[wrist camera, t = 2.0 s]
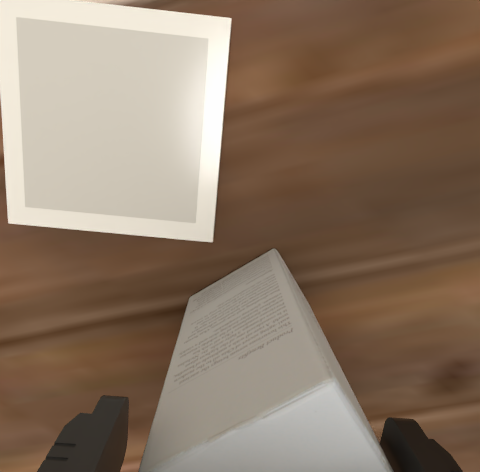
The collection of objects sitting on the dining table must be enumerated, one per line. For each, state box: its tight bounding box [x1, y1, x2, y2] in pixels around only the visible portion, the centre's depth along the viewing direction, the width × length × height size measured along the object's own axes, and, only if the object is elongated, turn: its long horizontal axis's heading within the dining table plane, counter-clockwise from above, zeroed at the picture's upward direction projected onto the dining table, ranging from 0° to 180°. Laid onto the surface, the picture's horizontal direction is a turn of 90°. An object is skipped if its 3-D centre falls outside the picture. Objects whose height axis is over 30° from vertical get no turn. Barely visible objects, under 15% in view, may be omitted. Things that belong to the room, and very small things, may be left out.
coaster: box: [0, 0, 232, 242], centre depth 18 cm, size 11×11×1 cm
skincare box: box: [138, 249, 393, 472], centre depth 15 cm, size 6×4×12 cm
